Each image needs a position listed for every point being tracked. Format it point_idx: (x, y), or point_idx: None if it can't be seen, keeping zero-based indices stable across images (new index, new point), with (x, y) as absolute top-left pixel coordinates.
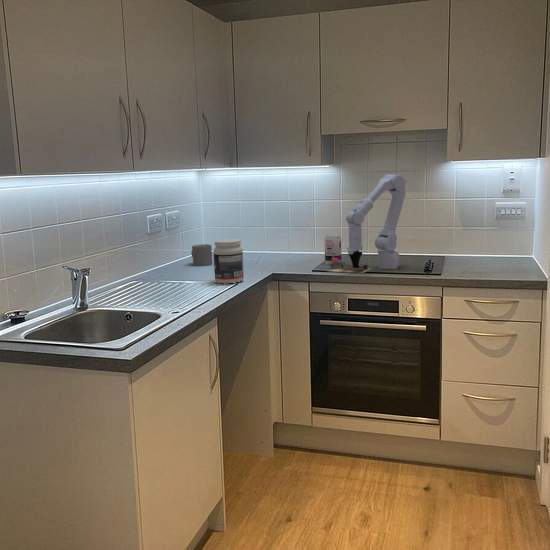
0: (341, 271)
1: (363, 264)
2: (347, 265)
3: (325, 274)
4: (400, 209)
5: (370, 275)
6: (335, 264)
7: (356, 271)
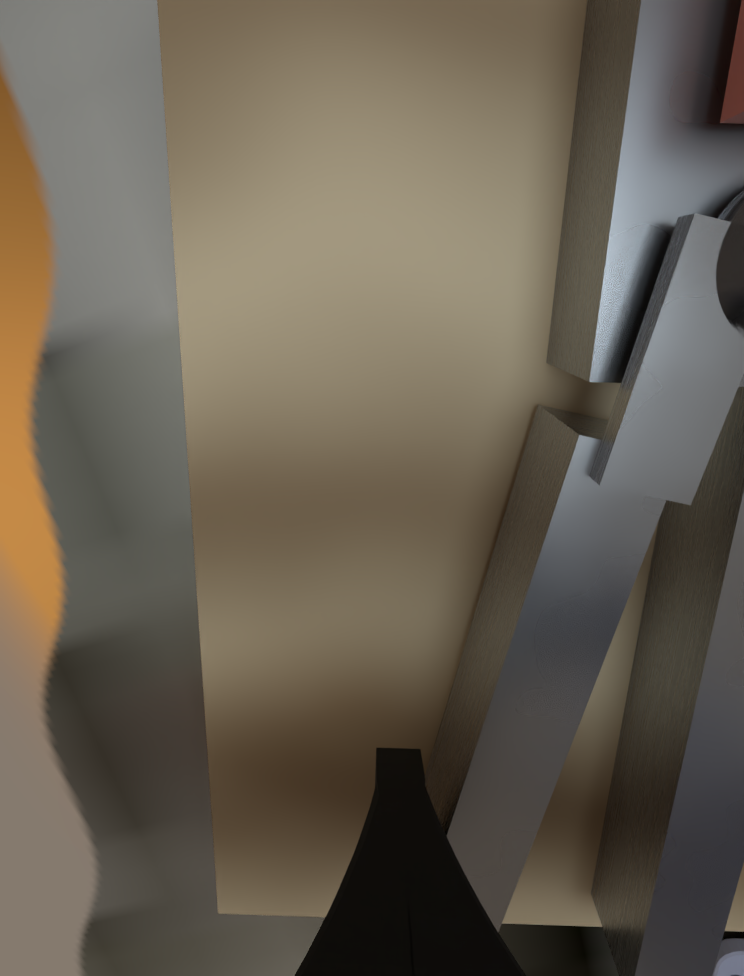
0: (234, 462)
1: (694, 926)
2: (517, 590)
3: (67, 26)
4: None
5: (290, 950)
6: (622, 119)
7: (336, 770)
